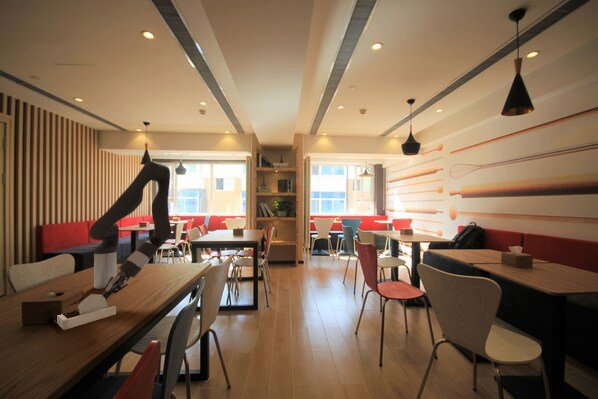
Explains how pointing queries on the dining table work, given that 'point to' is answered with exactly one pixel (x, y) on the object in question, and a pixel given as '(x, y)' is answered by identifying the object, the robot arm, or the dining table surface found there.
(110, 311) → the corral
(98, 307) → the die
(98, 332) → the dining table surface
